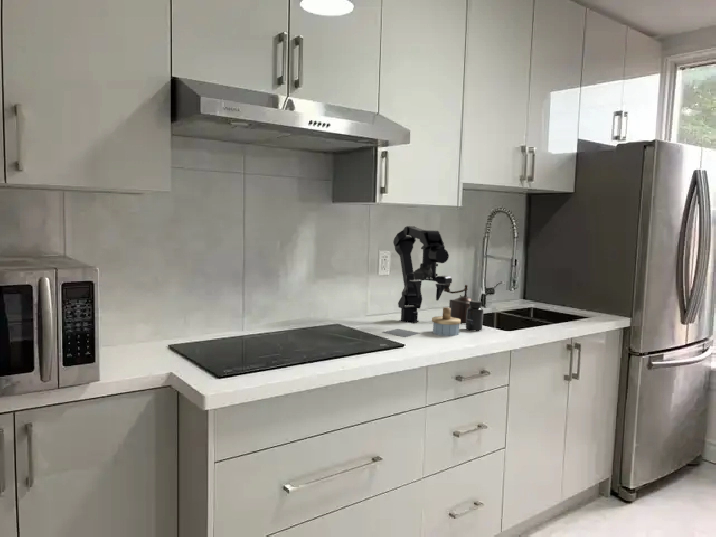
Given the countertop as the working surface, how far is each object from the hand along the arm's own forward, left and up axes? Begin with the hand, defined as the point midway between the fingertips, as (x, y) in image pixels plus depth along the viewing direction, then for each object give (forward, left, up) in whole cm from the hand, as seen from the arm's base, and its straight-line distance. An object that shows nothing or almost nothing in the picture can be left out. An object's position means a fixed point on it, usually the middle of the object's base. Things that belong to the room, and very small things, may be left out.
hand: (427, 299), depth 225 cm
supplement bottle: (+14, +15, -13) cm, 24 cm away
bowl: (+11, -3, -12) cm, 17 cm away
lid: (+11, -3, -8) cm, 14 cm away
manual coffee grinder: (0, +28, -13) cm, 31 cm away
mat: (-1, -16, -12) cm, 21 cm away
